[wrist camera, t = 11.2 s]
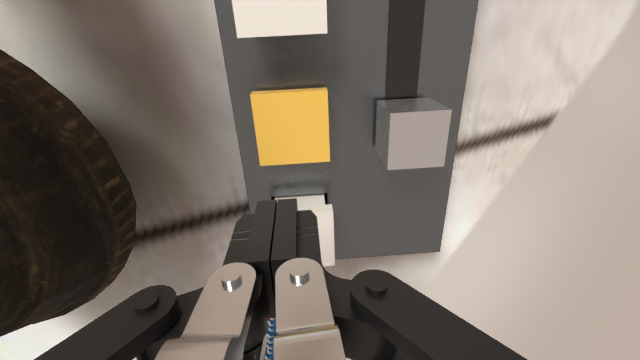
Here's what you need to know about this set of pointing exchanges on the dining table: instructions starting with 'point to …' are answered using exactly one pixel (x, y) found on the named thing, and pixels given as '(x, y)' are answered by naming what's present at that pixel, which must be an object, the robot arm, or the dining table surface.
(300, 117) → the button mid
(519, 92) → the dining table surface
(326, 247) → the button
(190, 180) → the dining table surface
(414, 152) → the brushed metal cube
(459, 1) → the panel
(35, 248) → the ceramic pot
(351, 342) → the robot arm
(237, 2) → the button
